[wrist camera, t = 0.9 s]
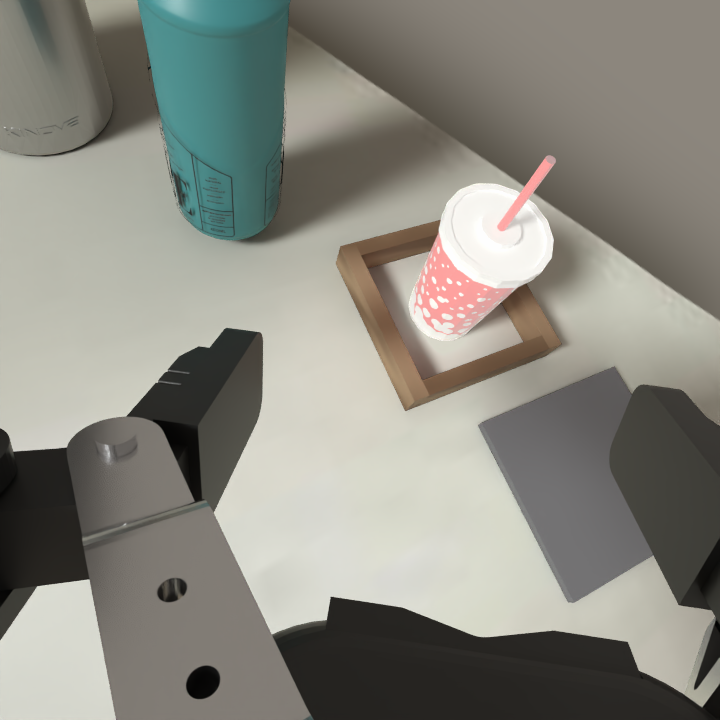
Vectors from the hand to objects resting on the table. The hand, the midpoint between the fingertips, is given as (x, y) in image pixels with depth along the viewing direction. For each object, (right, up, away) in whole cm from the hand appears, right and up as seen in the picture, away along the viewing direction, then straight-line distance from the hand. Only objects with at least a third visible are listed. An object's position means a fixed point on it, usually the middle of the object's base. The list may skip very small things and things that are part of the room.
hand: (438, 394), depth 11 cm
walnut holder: (+4, +4, +24) cm, 24 cm away
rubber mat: (+13, -6, +21) cm, 26 cm away
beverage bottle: (-10, +10, +23) cm, 28 cm away
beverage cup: (+4, +4, +24) cm, 24 cm away
